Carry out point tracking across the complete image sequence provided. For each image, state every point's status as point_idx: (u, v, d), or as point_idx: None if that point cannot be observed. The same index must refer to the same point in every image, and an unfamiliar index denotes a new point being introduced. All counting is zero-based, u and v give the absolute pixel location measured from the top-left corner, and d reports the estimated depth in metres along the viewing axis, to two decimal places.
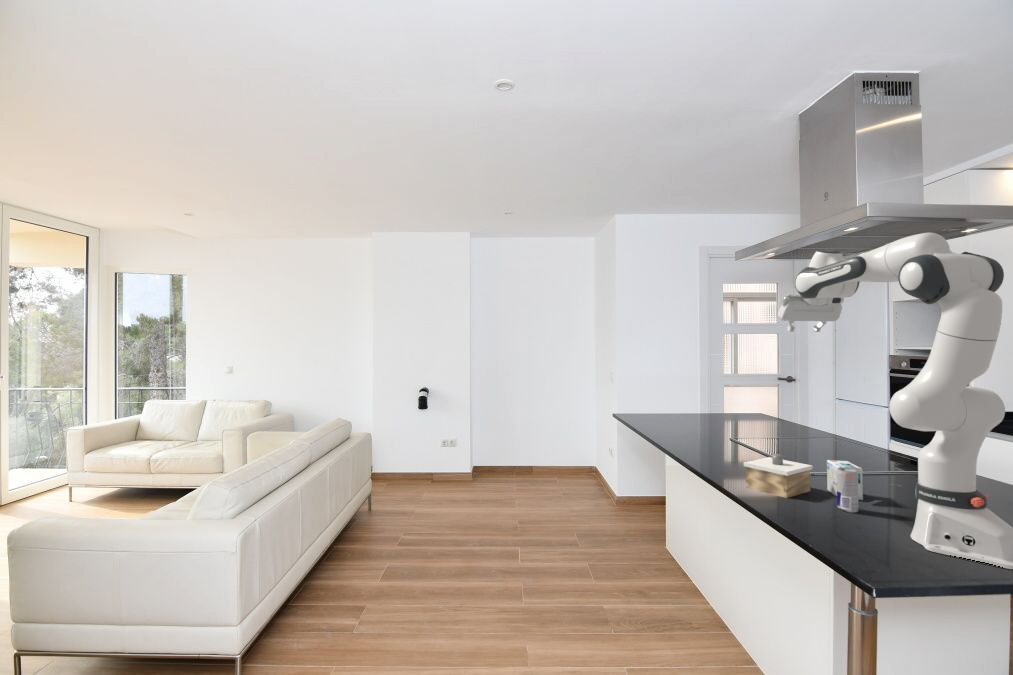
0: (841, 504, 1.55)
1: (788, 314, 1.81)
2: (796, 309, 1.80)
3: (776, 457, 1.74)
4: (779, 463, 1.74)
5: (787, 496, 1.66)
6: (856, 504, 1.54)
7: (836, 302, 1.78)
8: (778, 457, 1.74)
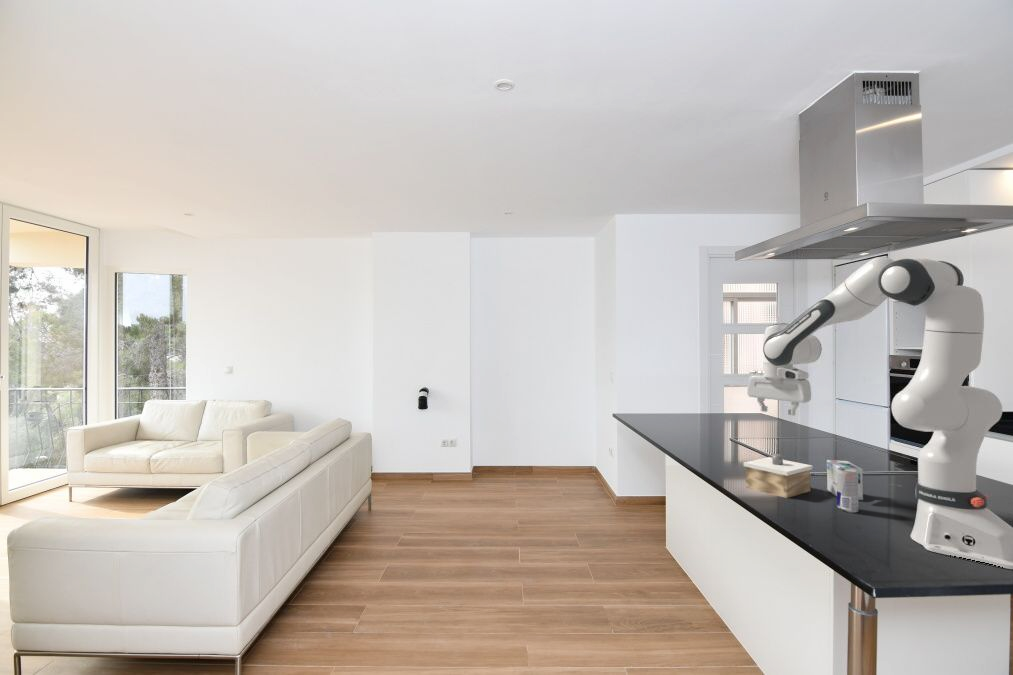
0: (841, 504, 1.55)
1: (750, 389, 1.82)
2: (758, 385, 1.80)
3: (776, 457, 1.74)
4: (779, 463, 1.74)
5: (787, 496, 1.66)
6: (856, 504, 1.54)
7: (790, 377, 1.69)
8: (778, 457, 1.74)
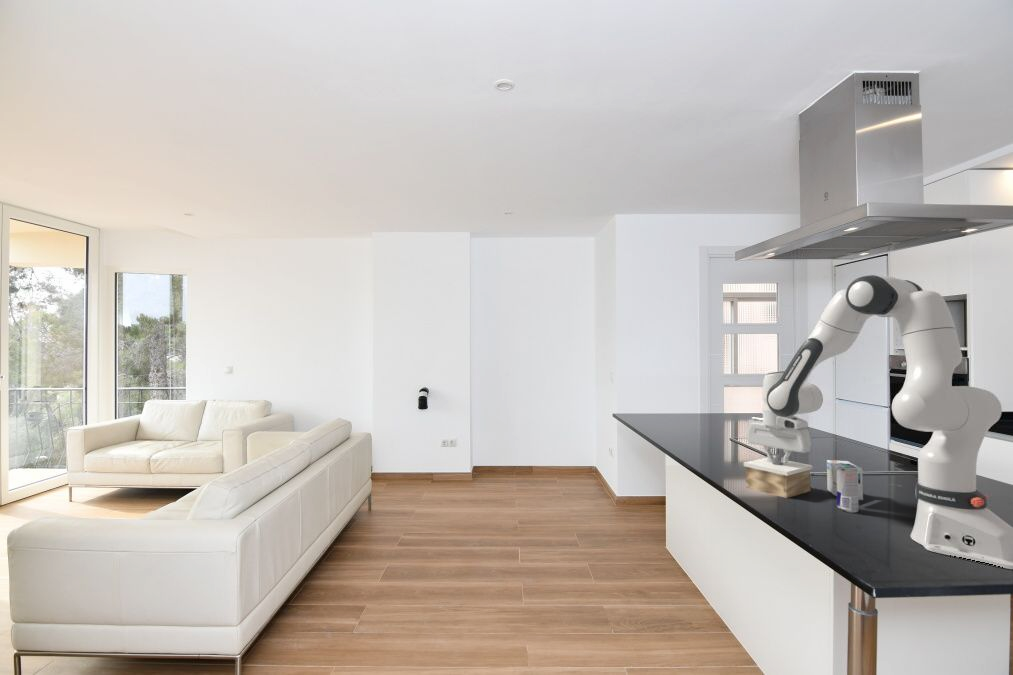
0: (841, 504, 1.55)
1: (750, 435, 1.81)
2: (758, 432, 1.79)
3: (777, 457, 1.74)
4: (779, 463, 1.74)
5: (787, 496, 1.66)
6: (856, 504, 1.54)
7: (789, 426, 1.68)
8: (778, 457, 1.74)
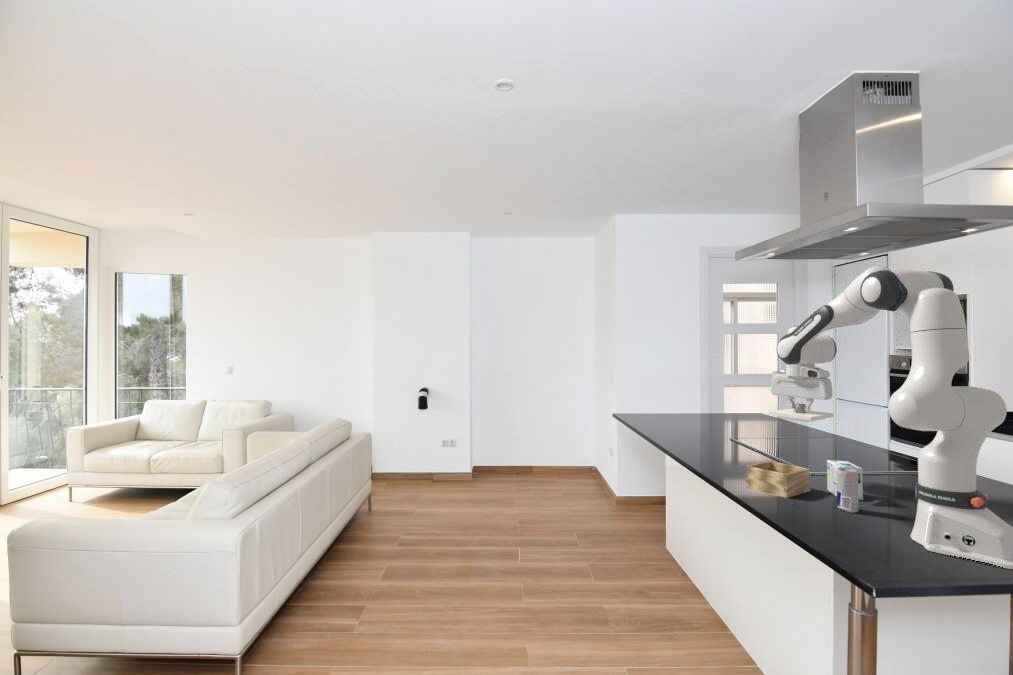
0: (841, 504, 1.55)
1: (774, 387, 1.93)
2: (781, 383, 1.91)
3: (799, 405, 1.85)
4: (802, 411, 1.85)
5: (787, 496, 1.66)
6: (856, 504, 1.54)
7: (813, 376, 1.80)
8: (801, 406, 1.85)
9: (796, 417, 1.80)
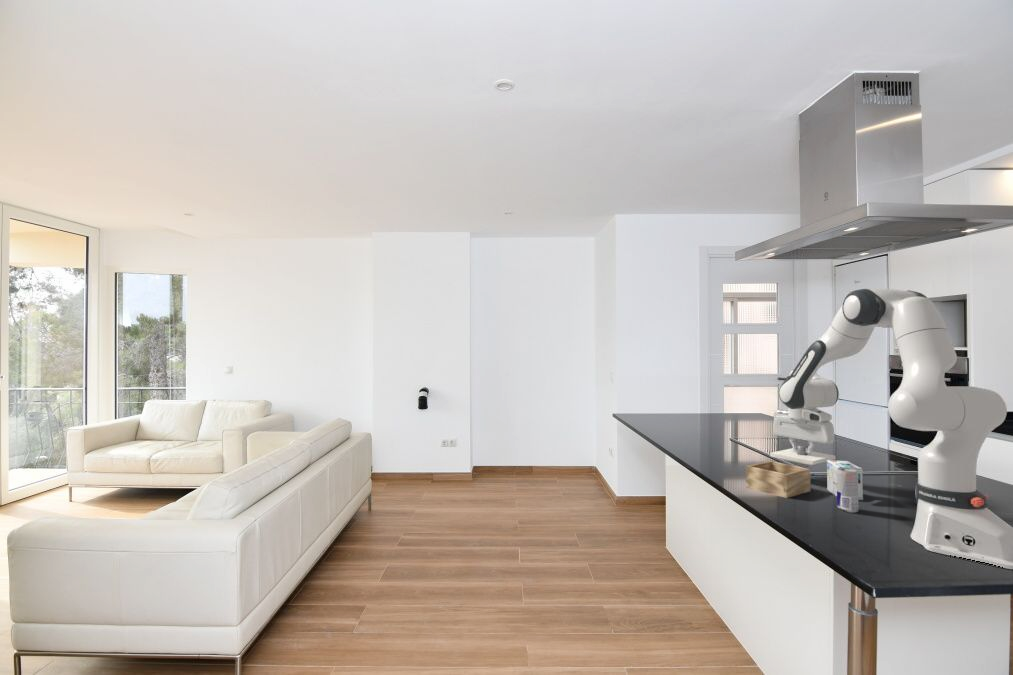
0: (841, 504, 1.55)
1: (776, 428, 1.93)
2: (783, 424, 1.91)
3: (801, 447, 1.86)
4: (804, 453, 1.86)
5: (787, 496, 1.66)
6: (856, 504, 1.54)
7: (814, 419, 1.80)
8: (803, 448, 1.86)
9: (798, 460, 1.81)
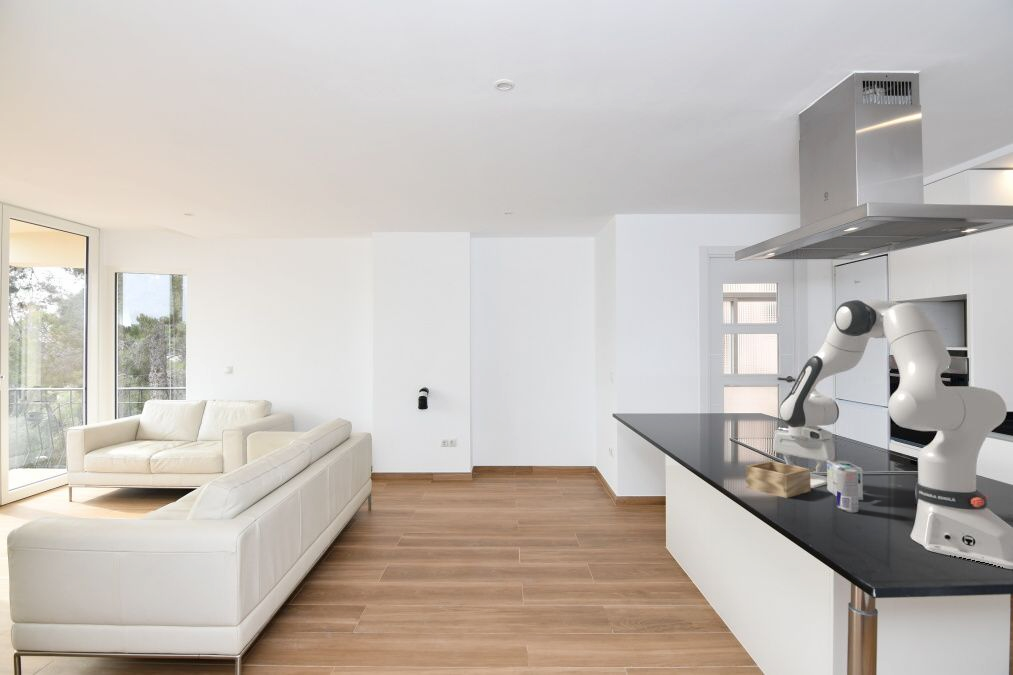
0: (841, 504, 1.55)
1: (776, 445, 1.93)
2: (784, 441, 1.91)
3: None
4: None
5: (787, 496, 1.66)
6: (856, 504, 1.54)
7: (815, 437, 1.80)
8: None
9: None
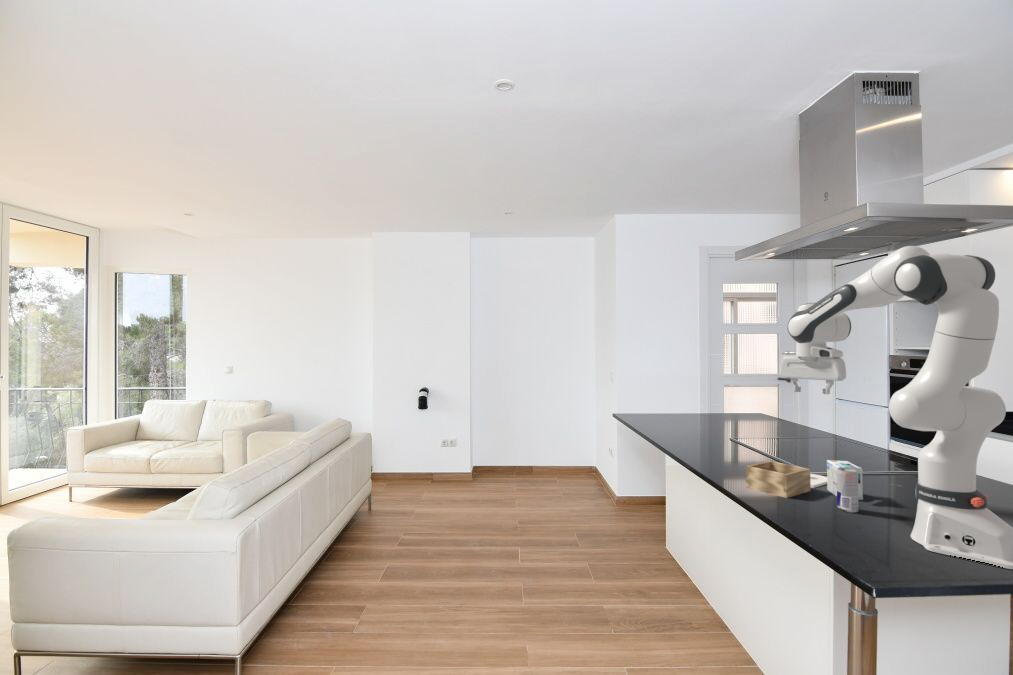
0: (841, 504, 1.55)
1: (783, 370, 1.82)
2: (791, 365, 1.80)
3: None
4: None
5: (787, 496, 1.66)
6: (856, 504, 1.54)
7: (825, 355, 1.69)
8: None
9: None
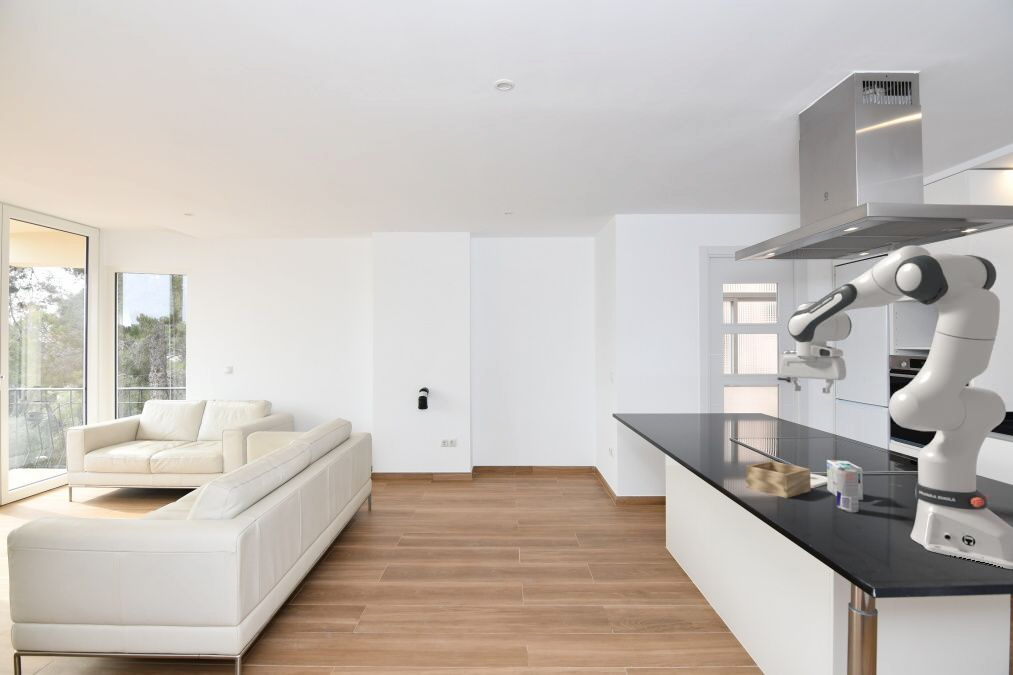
0: (841, 504, 1.55)
1: (783, 369, 1.82)
2: (791, 364, 1.80)
3: None
4: None
5: (787, 496, 1.66)
6: (856, 504, 1.54)
7: (825, 355, 1.69)
8: None
9: None
